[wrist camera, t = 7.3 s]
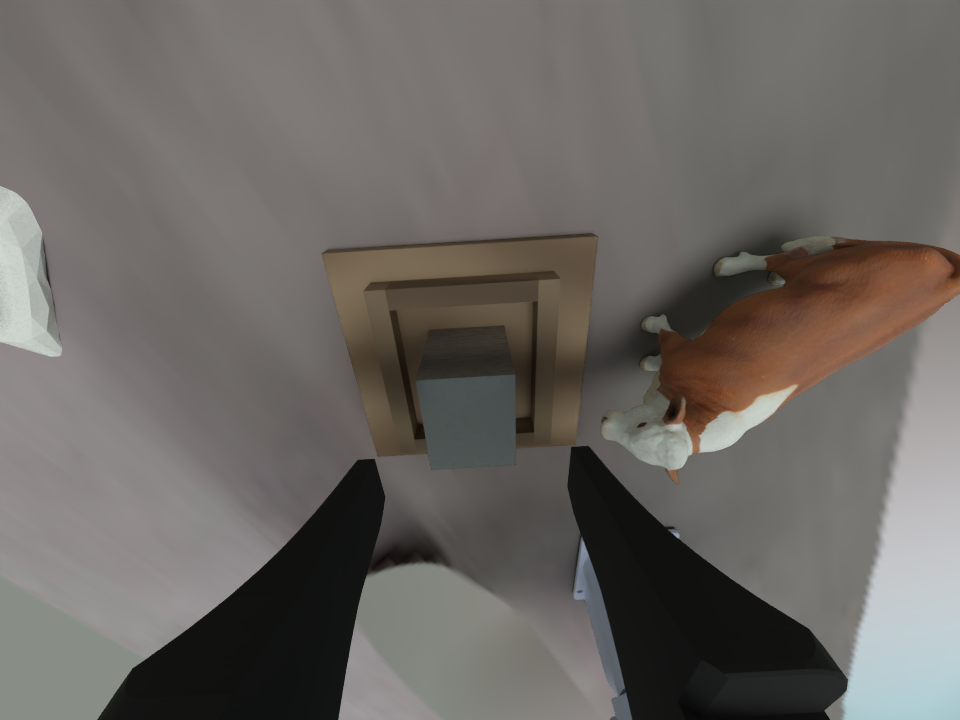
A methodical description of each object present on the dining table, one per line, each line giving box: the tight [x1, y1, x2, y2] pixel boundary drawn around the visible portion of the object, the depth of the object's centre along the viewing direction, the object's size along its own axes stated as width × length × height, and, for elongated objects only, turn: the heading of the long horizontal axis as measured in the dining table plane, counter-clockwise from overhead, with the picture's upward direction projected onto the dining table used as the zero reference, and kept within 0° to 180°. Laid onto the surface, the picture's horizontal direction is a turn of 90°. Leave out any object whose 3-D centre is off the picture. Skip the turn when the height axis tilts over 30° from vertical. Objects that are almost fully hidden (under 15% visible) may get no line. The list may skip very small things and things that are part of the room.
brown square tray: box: [322, 234, 598, 457], centre depth 19 cm, size 13×13×2 cm
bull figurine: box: [601, 236, 960, 484], centre depth 15 cm, size 4×13×8 cm, turn 128°
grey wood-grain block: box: [416, 325, 516, 470], centre depth 17 cm, size 5×4×5 cm
